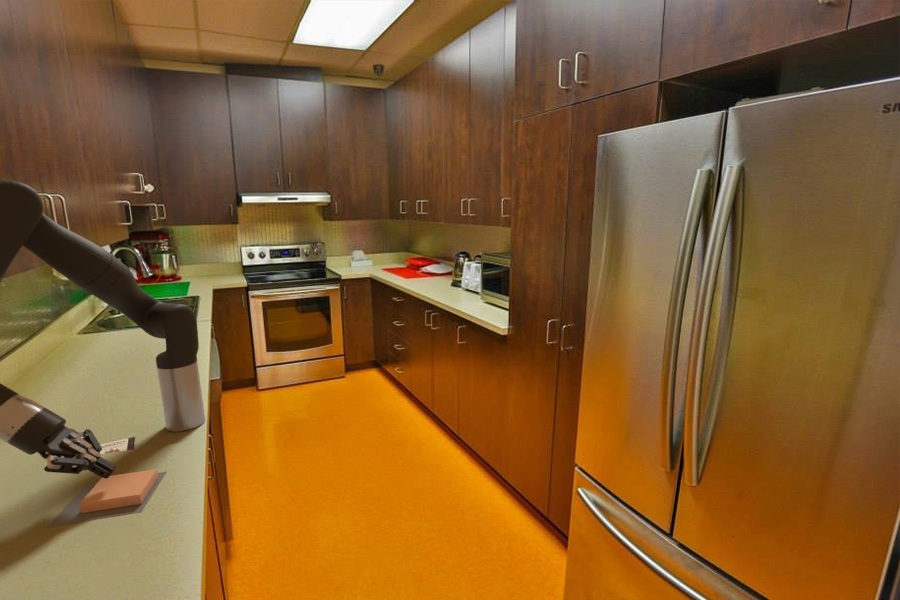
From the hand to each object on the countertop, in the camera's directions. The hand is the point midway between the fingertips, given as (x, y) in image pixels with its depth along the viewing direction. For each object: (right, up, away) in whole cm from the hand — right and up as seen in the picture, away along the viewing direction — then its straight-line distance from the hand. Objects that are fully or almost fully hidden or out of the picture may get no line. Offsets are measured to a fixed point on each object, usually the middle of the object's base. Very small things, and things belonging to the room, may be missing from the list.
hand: (112, 473), depth 89 cm
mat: (0, -6, +1) cm, 6 cm away
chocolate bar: (-13, -4, +16) cm, 21 cm away
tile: (-4, -4, 0) cm, 6 cm away
